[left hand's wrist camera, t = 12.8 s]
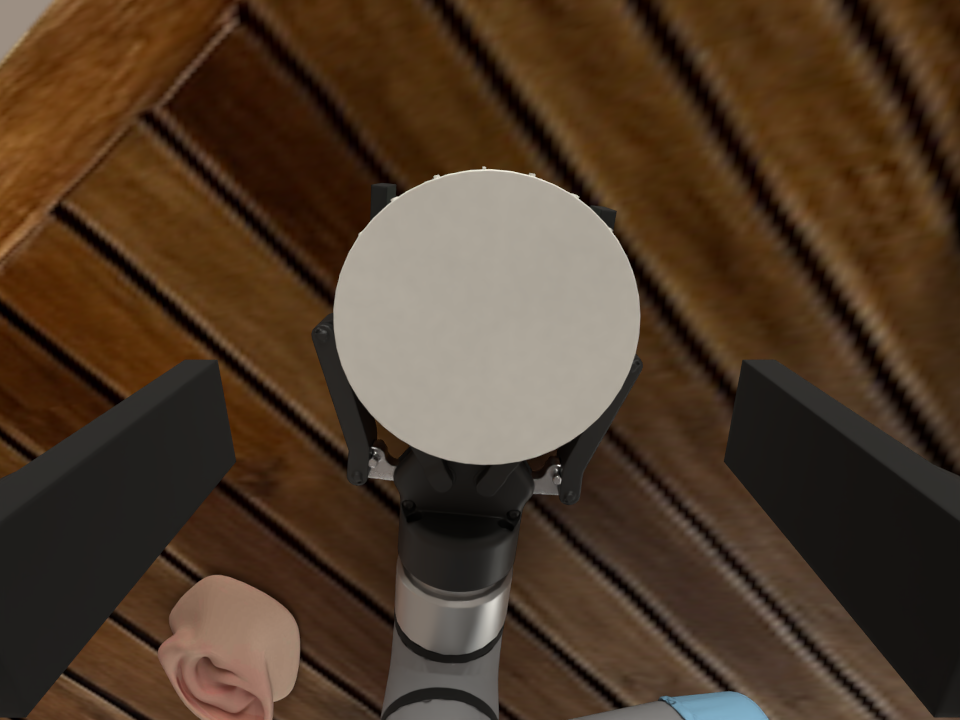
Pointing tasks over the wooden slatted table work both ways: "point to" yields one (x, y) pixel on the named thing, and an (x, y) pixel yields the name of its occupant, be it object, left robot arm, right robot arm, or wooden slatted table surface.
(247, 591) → the anatomical model
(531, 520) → the wooden slatted table surface
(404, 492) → the right robot arm
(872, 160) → the wooden slatted table surface
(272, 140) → the wooden slatted table surface
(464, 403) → the lid
